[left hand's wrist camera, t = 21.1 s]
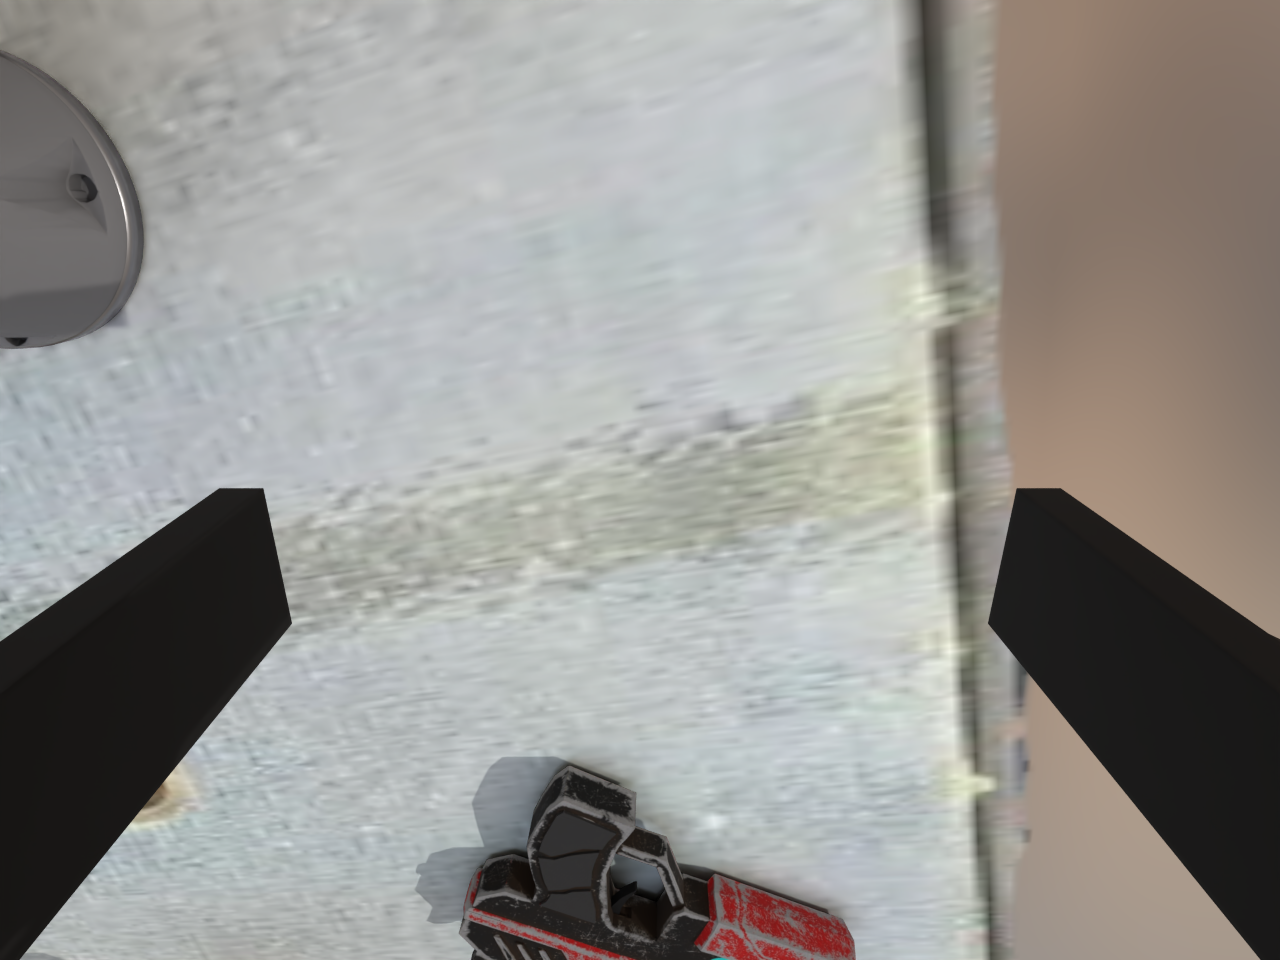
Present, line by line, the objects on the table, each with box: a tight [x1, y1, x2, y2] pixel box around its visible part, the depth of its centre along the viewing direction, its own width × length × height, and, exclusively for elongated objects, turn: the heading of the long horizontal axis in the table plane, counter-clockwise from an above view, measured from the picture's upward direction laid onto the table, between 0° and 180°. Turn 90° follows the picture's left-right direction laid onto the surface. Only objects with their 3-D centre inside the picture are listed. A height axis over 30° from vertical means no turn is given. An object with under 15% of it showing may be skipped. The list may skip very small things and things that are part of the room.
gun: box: [459, 766, 856, 960], centre depth 56 cm, size 4×31×19 cm
